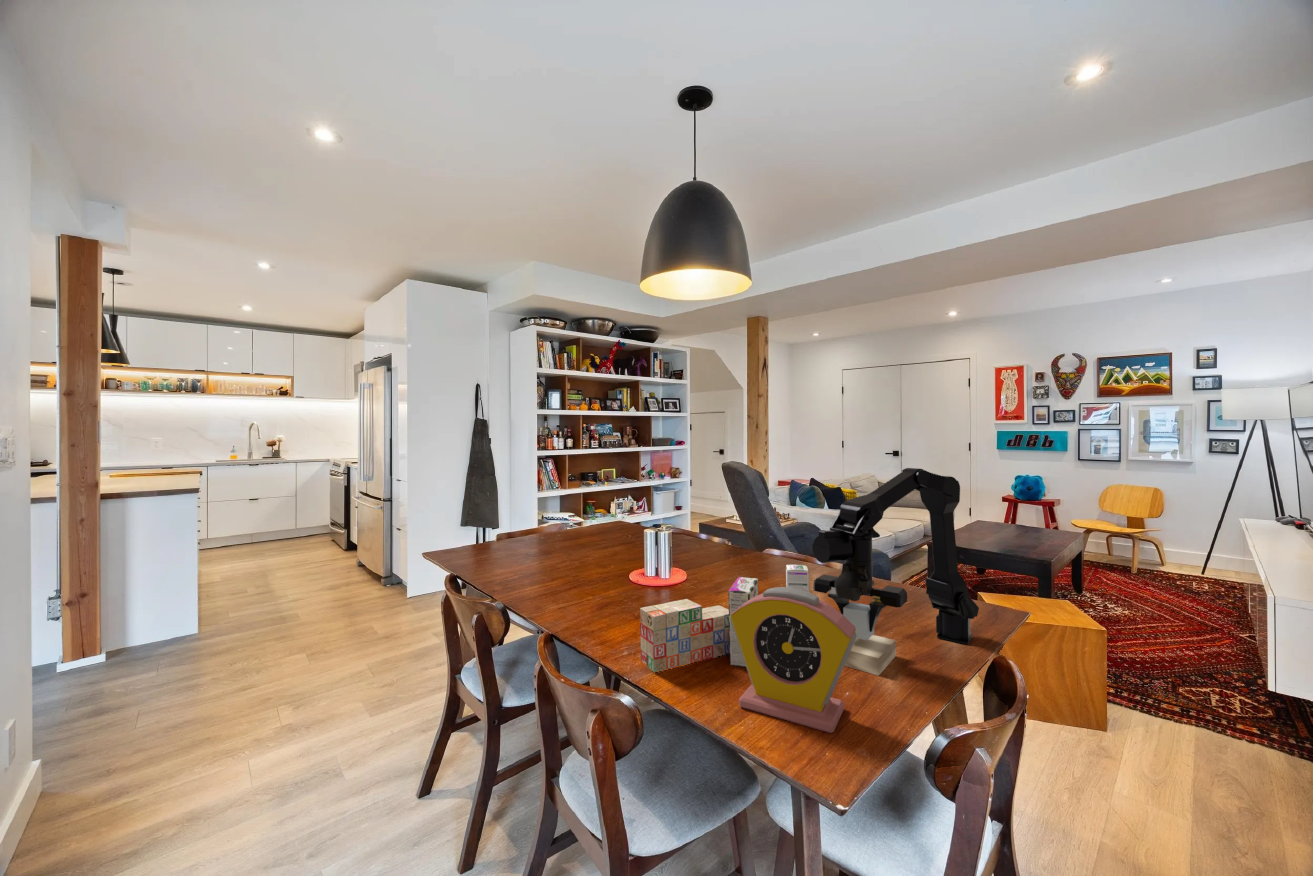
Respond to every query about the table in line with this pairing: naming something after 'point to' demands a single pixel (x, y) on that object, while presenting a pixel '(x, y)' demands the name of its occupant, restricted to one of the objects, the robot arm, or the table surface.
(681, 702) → the table surface
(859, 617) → the slate block
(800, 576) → the syrup box
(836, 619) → the yellow mantel clock
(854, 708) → the table surface
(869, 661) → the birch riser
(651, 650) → the stack of blocks
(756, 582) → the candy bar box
